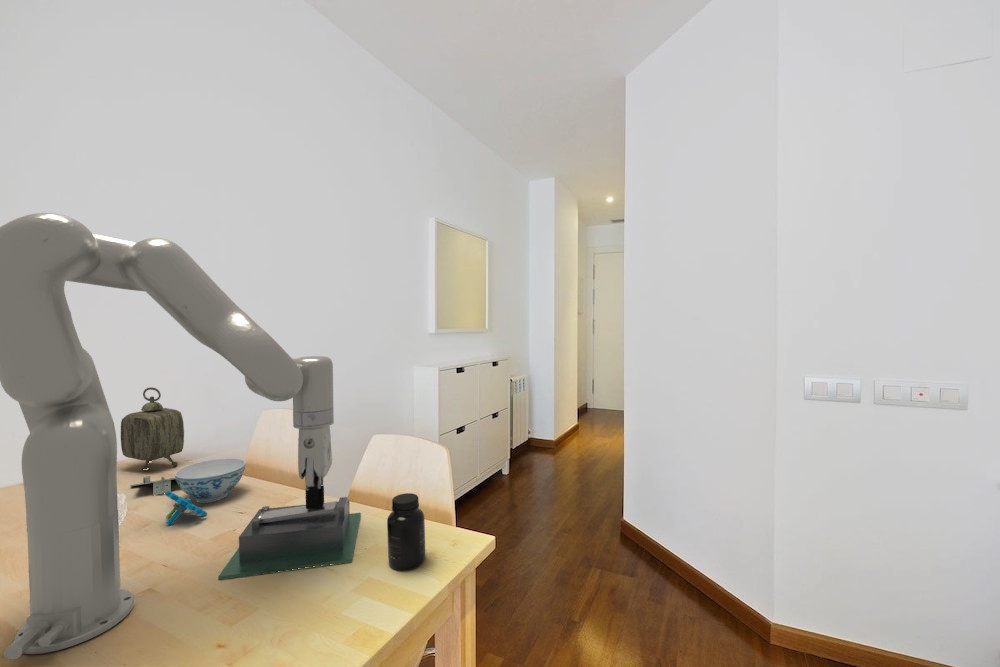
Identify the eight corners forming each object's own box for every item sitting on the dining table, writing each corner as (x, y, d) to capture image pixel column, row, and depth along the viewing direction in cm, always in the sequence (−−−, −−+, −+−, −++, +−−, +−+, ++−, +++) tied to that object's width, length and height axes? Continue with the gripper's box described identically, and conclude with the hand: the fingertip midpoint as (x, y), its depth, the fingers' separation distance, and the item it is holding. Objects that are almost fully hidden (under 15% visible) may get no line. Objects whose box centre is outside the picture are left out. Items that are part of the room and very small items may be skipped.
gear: (213, 514, 96) (173, 491, 91) (192, 540, 93) (148, 517, 88) (203, 506, 104) (165, 484, 99) (183, 529, 101) (143, 508, 96)
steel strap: (334, 512, 86) (334, 507, 86) (255, 524, 83) (255, 519, 83) (337, 505, 90) (336, 500, 90) (261, 516, 86) (260, 511, 86)
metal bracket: (196, 467, 116) (123, 479, 107) (197, 490, 114) (123, 503, 106) (198, 468, 127) (132, 478, 119) (199, 488, 126) (132, 500, 118)
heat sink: (351, 562, 79) (350, 522, 79) (218, 579, 74) (217, 537, 74) (360, 515, 99) (360, 483, 98) (255, 526, 94) (255, 492, 93)
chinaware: (204, 513, 100) (204, 481, 100) (160, 505, 105) (159, 474, 104) (259, 489, 114) (259, 461, 114) (218, 483, 119) (217, 455, 119)
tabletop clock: (185, 465, 133) (182, 386, 133) (154, 476, 125) (152, 391, 124) (150, 461, 137) (148, 384, 137) (119, 471, 129) (116, 389, 128)
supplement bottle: (409, 547, 84) (409, 487, 84) (432, 559, 80) (432, 496, 80) (380, 562, 79) (379, 499, 79) (403, 576, 75) (402, 509, 74)
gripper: (327, 425, 80) (328, 521, 81) (338, 409, 95) (339, 491, 95) (283, 427, 78) (285, 526, 79) (301, 411, 93) (303, 494, 93)
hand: (315, 506), depth 87 cm, fingers closed
